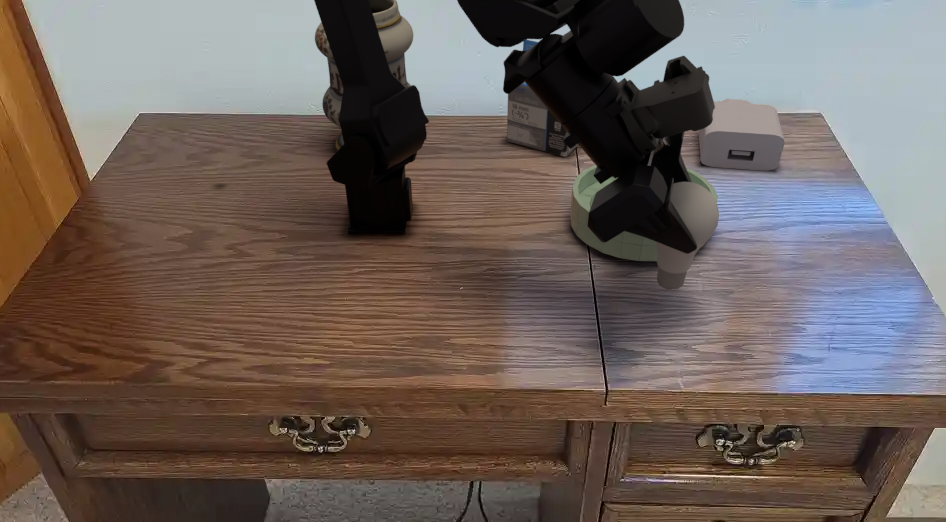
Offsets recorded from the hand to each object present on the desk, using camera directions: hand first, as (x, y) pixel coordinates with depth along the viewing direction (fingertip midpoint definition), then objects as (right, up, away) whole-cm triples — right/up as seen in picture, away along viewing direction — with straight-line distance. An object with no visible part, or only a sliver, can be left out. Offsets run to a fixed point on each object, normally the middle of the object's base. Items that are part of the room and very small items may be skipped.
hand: (695, 231), depth 72 cm
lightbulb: (-1, -5, +5) cm, 7 cm away
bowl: (-2, +3, +16) cm, 17 cm away
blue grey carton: (-11, +16, +32) cm, 37 cm away
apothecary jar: (-33, +16, +33) cm, 49 cm away
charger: (+14, +16, +32) cm, 38 cm away
